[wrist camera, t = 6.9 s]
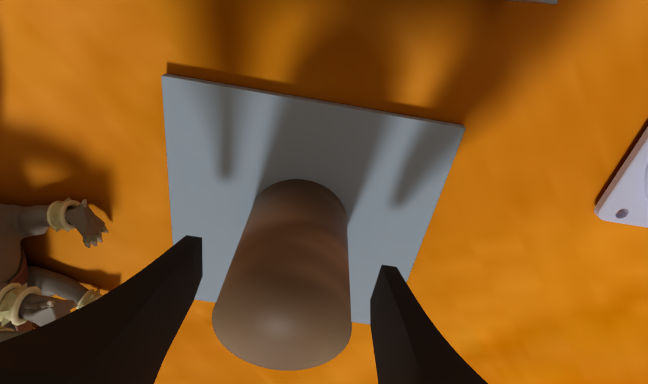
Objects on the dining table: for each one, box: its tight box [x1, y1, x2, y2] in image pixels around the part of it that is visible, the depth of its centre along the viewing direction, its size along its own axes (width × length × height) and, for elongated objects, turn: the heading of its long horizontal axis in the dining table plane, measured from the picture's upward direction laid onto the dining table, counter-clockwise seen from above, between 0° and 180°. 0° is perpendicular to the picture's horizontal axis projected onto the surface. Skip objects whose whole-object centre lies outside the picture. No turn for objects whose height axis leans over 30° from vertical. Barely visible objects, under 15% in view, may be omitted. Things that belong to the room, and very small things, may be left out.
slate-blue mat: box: [162, 74, 466, 324], centre depth 17 cm, size 12×12×1 cm
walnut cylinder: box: [212, 179, 352, 370], centre depth 14 cm, size 4×4×6 cm
